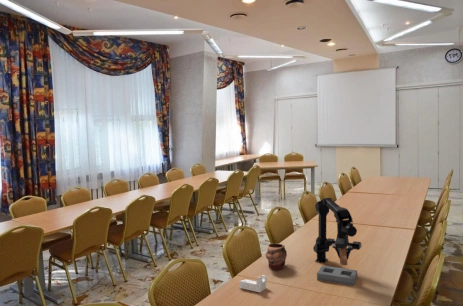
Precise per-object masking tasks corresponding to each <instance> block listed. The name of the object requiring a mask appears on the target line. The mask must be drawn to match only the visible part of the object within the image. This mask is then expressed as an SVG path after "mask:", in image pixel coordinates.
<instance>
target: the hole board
mask: <svg viewBox="0 0 463 306" xmlns="http://www.w3.org/2000/svg"><path fill="white" fill-rule="evenodd" d="M316 280H317V281H321V282H328V283H333V284H340V285H345V286H350V287H351V286H352V287H354V286H355V284H356V281H357V280H358V270H357V269H351V268H350V269H349V268H343V267H336V266H329V265H321V266H320V268H319V270H318V271H317V272H316Z"/></svg>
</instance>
